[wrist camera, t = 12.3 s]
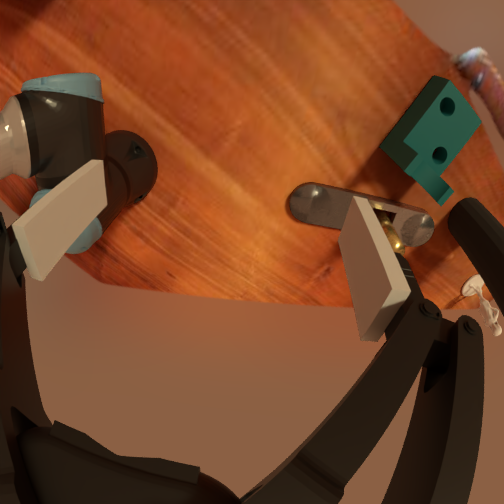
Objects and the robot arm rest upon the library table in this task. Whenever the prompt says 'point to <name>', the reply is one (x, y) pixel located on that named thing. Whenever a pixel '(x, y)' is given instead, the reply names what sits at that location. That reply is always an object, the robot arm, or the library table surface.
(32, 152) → the robot arm
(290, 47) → the library table surface
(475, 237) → the vase
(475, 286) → the figurine
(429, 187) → the teal l-shaped bracket
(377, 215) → the pin
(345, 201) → the slotted link plate
